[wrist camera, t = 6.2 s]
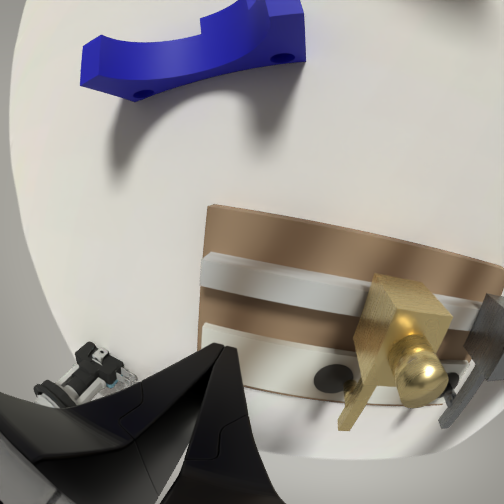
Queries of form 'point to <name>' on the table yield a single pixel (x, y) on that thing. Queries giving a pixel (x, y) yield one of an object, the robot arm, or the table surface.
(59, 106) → the table surface
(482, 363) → the fixed leg
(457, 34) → the table surface
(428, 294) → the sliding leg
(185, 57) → the cable clip
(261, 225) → the board
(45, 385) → the push button
